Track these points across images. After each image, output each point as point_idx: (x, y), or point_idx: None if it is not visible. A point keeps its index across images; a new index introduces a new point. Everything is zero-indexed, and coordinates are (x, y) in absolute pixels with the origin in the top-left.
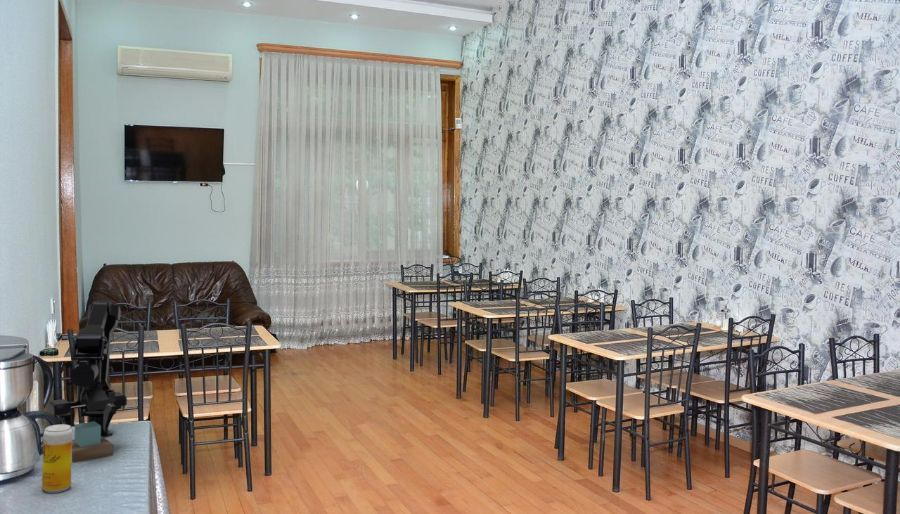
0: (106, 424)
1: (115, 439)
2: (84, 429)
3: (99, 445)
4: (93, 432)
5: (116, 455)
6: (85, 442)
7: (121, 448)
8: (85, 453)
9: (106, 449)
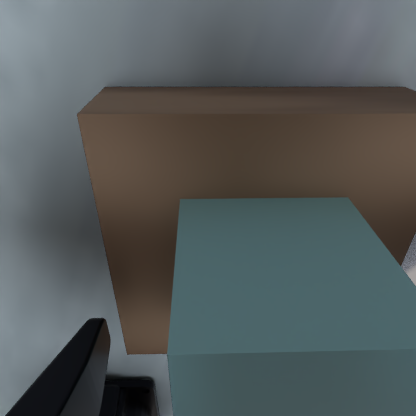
0: (69, 386)
1: (40, 337)
2: (407, 334)
3: (205, 151)
4: (264, 283)
5: (80, 59)
6: (322, 216)
7: (22, 195)
8: (342, 100)
9: (151, 101)
